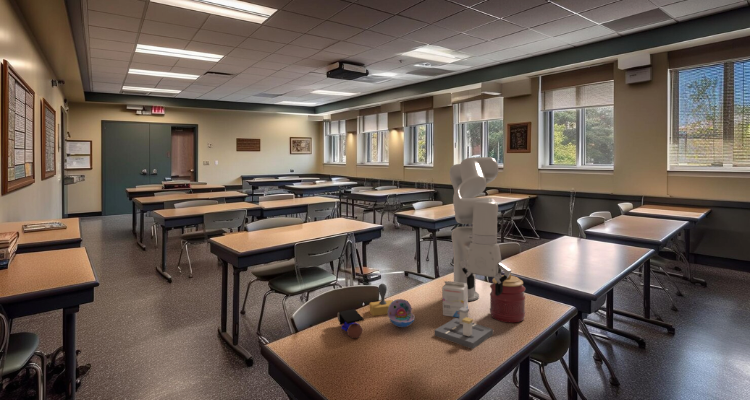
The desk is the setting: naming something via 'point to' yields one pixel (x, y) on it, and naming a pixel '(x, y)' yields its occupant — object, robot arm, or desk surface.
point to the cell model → (400, 313)
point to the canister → (508, 301)
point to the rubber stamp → (380, 303)
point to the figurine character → (350, 322)
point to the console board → (455, 333)
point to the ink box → (454, 298)
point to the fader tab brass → (467, 326)
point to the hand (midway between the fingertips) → (484, 291)
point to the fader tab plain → (463, 313)
